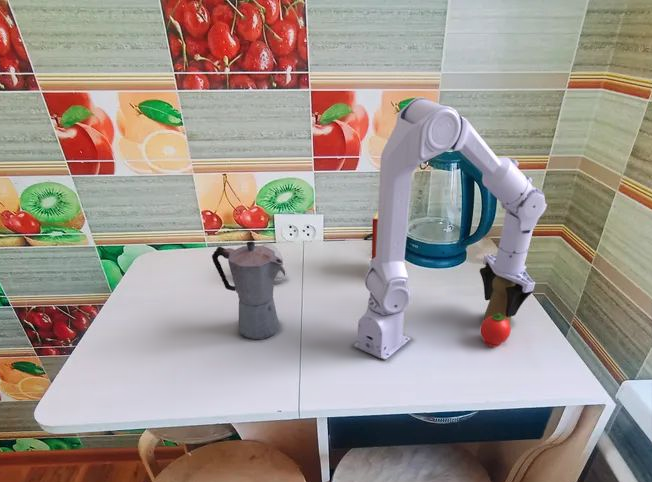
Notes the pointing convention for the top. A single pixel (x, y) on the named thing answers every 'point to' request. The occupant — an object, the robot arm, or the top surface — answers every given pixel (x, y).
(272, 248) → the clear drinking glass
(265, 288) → the moka pot
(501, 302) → the tan rounded tall piece
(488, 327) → the tomato
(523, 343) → the top surface
